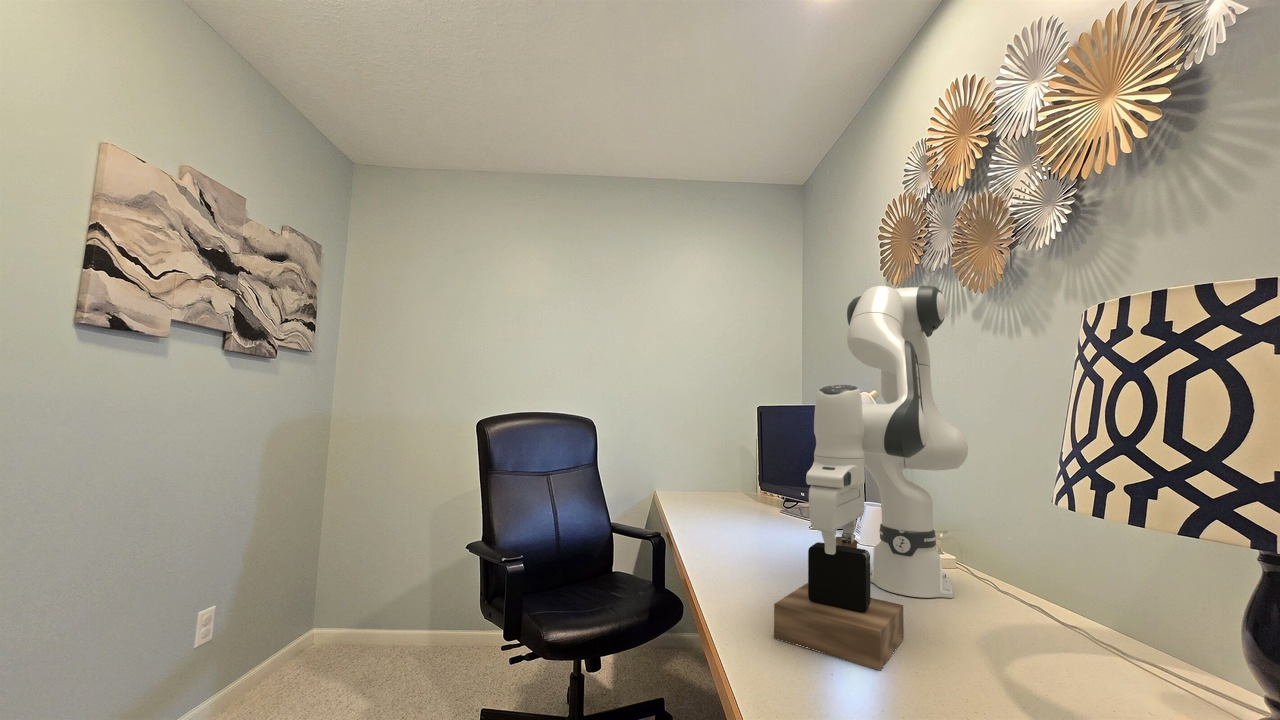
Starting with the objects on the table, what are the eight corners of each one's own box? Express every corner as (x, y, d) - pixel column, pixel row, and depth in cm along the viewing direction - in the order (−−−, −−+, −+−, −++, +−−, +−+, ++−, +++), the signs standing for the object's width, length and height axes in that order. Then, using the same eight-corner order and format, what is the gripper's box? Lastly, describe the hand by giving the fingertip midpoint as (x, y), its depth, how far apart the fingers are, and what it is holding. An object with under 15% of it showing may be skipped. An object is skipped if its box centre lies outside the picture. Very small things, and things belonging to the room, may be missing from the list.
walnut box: (806, 613, 108) (806, 583, 109) (903, 639, 97) (903, 605, 98) (773, 638, 96) (774, 603, 96) (880, 670, 85) (880, 631, 85)
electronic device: (814, 595, 102) (814, 541, 103) (870, 607, 96) (870, 550, 97) (807, 601, 98) (808, 545, 99) (866, 614, 93) (865, 554, 94)
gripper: (839, 465, 110) (840, 534, 109) (802, 475, 94) (802, 556, 92) (872, 468, 106) (873, 540, 105) (838, 479, 90) (839, 563, 89)
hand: (839, 548), depth 98 cm, fingers open, 8 cm apart
